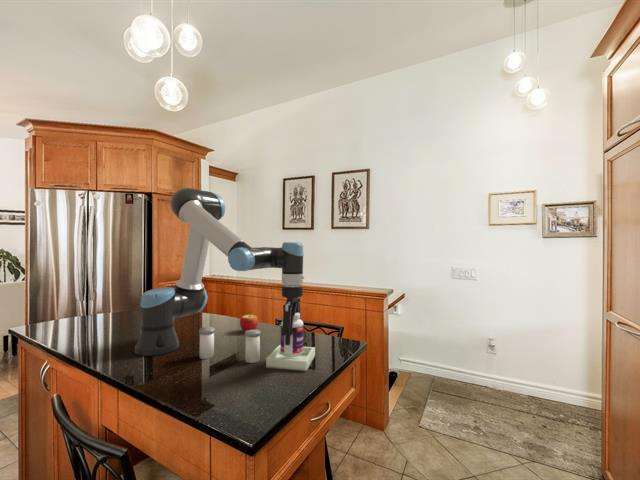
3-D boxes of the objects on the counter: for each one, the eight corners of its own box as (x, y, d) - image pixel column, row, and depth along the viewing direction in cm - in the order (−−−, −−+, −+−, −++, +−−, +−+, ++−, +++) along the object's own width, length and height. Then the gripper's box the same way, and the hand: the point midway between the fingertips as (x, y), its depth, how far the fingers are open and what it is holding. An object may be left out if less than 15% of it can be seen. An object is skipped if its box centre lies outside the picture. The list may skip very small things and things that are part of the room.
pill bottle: (299, 359, 104) (300, 317, 104) (277, 357, 106) (277, 315, 106) (305, 351, 112) (306, 311, 112) (284, 349, 114) (285, 310, 114)
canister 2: (242, 362, 107) (242, 333, 108) (247, 357, 113) (248, 329, 113) (257, 363, 107) (257, 333, 107) (262, 357, 112) (262, 329, 112)
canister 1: (195, 358, 111) (196, 330, 111) (203, 353, 116) (203, 326, 116) (210, 359, 110) (210, 331, 110) (217, 354, 115) (217, 327, 115)
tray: (266, 367, 104) (266, 358, 104) (279, 352, 117) (279, 344, 117) (306, 371, 101) (306, 361, 101) (315, 355, 115) (315, 347, 115)
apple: (261, 330, 147) (261, 309, 147) (248, 335, 139) (248, 313, 139) (249, 328, 151) (249, 307, 151) (235, 332, 144) (236, 310, 144)
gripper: (294, 290, 98) (294, 361, 98) (309, 282, 119) (308, 340, 119) (272, 289, 100) (271, 359, 100) (290, 281, 120) (290, 339, 120)
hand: (291, 349), depth 109 cm, fingers closed on pill bottle, 8 cm apart
